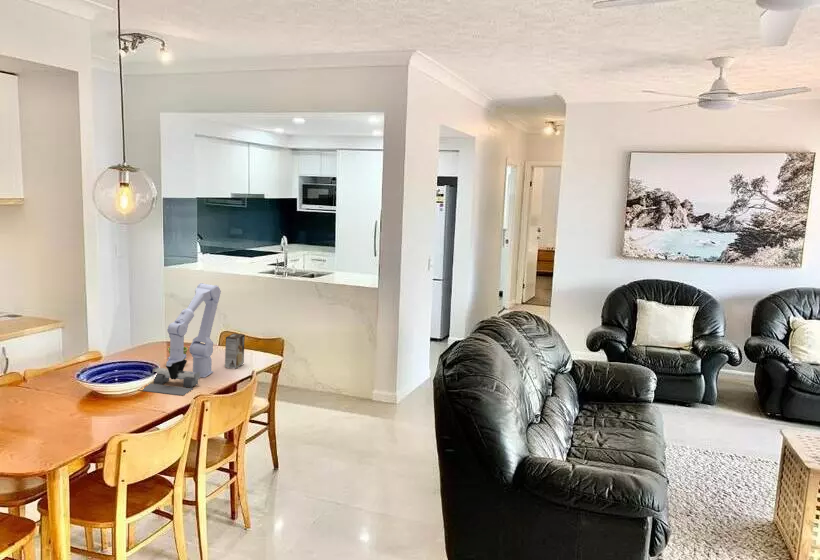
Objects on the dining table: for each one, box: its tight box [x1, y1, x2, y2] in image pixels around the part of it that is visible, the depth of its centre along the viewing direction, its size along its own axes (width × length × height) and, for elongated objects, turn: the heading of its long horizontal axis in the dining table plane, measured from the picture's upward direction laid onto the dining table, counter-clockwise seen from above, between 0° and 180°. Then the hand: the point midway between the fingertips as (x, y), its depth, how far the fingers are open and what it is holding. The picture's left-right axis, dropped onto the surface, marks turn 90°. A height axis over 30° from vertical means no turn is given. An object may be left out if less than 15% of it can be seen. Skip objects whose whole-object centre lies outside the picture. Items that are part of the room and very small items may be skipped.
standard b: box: [153, 375, 170, 385], centre depth 276 cm, size 6×4×4 cm, turn 173°
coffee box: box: [224, 333, 246, 369], centre depth 308 cm, size 9×6×16 cm
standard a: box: [182, 378, 199, 389], centre depth 275 cm, size 6×4×4 cm, turn 173°
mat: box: [142, 383, 194, 396], centre depth 267 cm, size 9×21×1 cm, turn 83°
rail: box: [152, 366, 201, 381], centre depth 275 cm, size 4×21×3 cm, turn 83°
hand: (176, 377), depth 275 cm, fingers open, 5 cm apart
